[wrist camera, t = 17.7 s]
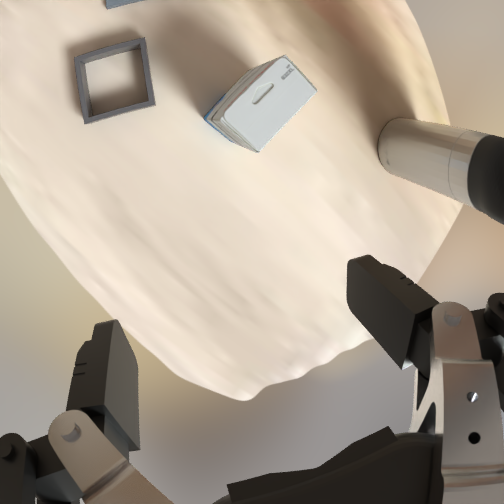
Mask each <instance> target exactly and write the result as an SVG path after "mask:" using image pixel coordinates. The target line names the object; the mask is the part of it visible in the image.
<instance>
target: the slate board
mask: <svg viewBox="0 0 504 504" xmlns="http://www.w3.org/2000/svg"><path fill="white" fill-rule="evenodd" d="M139 1H143V0H106V8H107V9H111V8H114V7H118V6H122V5H126V4H130V3H134V2H139Z"/></svg>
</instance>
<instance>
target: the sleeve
mask: <svg viewBox="0 0 504 504" xmlns="http://www.w3.org/2000/svg"><path fill="white" fill-rule="evenodd" d="M138 48H141V54H142V61H143V67H144V74H145V80H146V86H147V92H148V98H149V101H147V102H143V103H138V104H135V105H131V106H127V107H123V108H120V109H116V110H112V111H109V112H106V113H102V114H99V115H96V116H93V113H92V108H91V102H90V96H89V90H88V83H87V77H86V70H85V63H88V62H91V61H94V60H98V59H101V58H104V57H108V56H111V55H115V54H119V53H122V52H126V51H130V50H134V49H138ZM74 62H75V69H76V77H77V84H78V90H79V96H80V102H81V108H82V113H83V119H84V124H90V123H93V122H96V121H100V120H103V119H106V118H110V117H113V116H117V115H120V114H124V113H128V112H132V111H135V110H139V109H143V108H148V107H152V106H156V103H155V97H154V91H153V85H152V79H151V73H150V66H149V59H148V53H147V46H146V40H145V37H144V38H140V39H135V40H131V41H127V42H123V43H120V44H116V45H112V46H109V47H105V48H102V49H99V50H95V51H92V52H89V53H86V54H83V55H80V56H77V57H74Z"/></svg>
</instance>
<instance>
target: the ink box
mask: <svg viewBox="0 0 504 504" xmlns="http://www.w3.org/2000/svg"><path fill="white" fill-rule="evenodd" d="M316 92H317V89H316V88H315V87H314V85H313V84H312V83H311V82H310V81H309V80H308V79H307V78H306V76H305V75H304V74H303V73H302V72H301V71H300V70H299V69H298V68H297V66H296V65H295V64H294V63H293V62H292V61H291V60H290V59H289V58H288V57H287V56H286V55H283V56H281V57H278V58H276V59H274V60H271V61H269V62H267V63H264V64H262V65H260V66H258V67H255V68H253V69H251V70H248V71H247V72H246V73H245V74H244V75H243V76H242V77H241V78H240V79H239V80H238V81H237V82H236V83H235V84H234V85H233V87H232V88H231V89H230V90H229V91H228V92H227V93H226V94H225V95H224V96H223V97H222V98H221V99H220V100H219V101H218V102H217V103H216V105H215V106H214V107H213V108H212V109H211V110H210V111H209V112H208V113H207V115H206V116H205V117H204V120H205V121H206V122H207V123H209V124H210V125H211V126H212V127H213V128H215V129H216V130H217V131H218V132H220V133H221V134H222V135H223V136H224V137H226V138H227V139H228V140H230V141H231V142H233V143H235V144H238V145H240V146H242V147H244V148H247V149H249V150H251V151H254V152H256V153H259V152H260V151H261V150H262V149H263V148H264V147H265V145H266V144H267V143H268V142H269V141H270V140H271V139H272V138H273V137H274V136H275V135H276V134H277V133H278V132H279V131H280V130H281V129H282V128H283V126H284V125H285V124H286V123H287V122H288V121H289V120H290V119H291V118H292V117H293V116H294V115H295V114H296V113H297V112H298V111H299V110H300V109H301V108H302V107H303V106H304V105H305V104H306V103H307V102H308V101H309V100H310V99H311V98H312V97H313V96H314V95H315V93H316Z"/></svg>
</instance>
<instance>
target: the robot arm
mask: <svg viewBox="0 0 504 504" xmlns="http://www.w3.org/2000/svg"><path fill="white" fill-rule="evenodd" d="M378 153H379V158H380V161H381V163H382V165H383V167H384V168H385V169H386V170H387V171H388V172H389V173H390V174H393V175H395V176H398V177H401V178H403V179H406V180H408V181H411V182H413V183H416V184H418V185H421V186H423V187H426V188H428V189H431V190H433V191H436V192H438V193H440V194H443V195H445V196H447V197H450V198H452V199H454V200H457V201H459V202H461V203H464V204H466V205H468V206H470V207H472V208H475V209H477V210H479V211H481V212H483V213H485V214H487V215H488V216H489V217H491V218H493V219H494V220H496V221H498V222H500V223H502V224H504V138H502V137H498V136H495V135H489V134H486V133H481V132H477V131H472V130H467V129H462V128H458V127H453V126H448V125H442V124H437V123H431V122H425V121H420V120H413V119H406V118H396V119H393V120H391V121H390V122H388V123H387V125H386V126H385V127H384V128H383V130H382V132H381V135H380V137H379V142H378ZM347 303H348V306H349V308H350V310H351V312H352V313H353V314H354V315H355V317H356V318H357V319H358V320H359V321H360V322H361V323H362V325H363V326H364V327H365V328H366V329H367V330H368V331H369V333H370V334H371V335H372V336H373V337H374V338H375V339H376V341H377V342H378V343H379V344H380V345H381V346H382V348H384V350H385V351H386V352H387V353H388V355H389V356H390V357H391V358H392V359H393V360H394V361H395V363H396V364H397V365H398V366H399V367H400V369H401V370H403V369H405V368H407V367H409V366H411V365H413V364H414V365H415V367H416V368H417V369H416V372H415V384H414V402H413V415H412V422H411V426H410V429H409V433H399V434H394V433H393V432H392V430H391V429H390V428H389V426H387V427H385V428H383V429H381V430H379V431H377V432H375V433H373V434H371V435H369V436H367V437H365V438H363V439H361V440H358V441H356V442H354V443H352V444H351V445H349V446H348V447H347V448H345V449H344V450H343V451H341V452H340V453H338V454H337V455H336V456H334V457H333V458H331V459H330V460H328V461H327V462H325V463H324V464H322V465H321V466H319V467H317V468H314V469H307V470H300V471H291V472H282V473H281V472H280V473H269V474H266V475H262V476H259V477H255V478H251V479H247V480H244V481H239V482H235V483H231V484H227V488H228V491H229V494H228V495H226V496H224V497H222V498H221V499H219V500H217V501H216V502H214V503H213V504H504V440H503V428H502V417H501V409H502V410H503V412H504V293H495V294H492V295H491V296H490V297H489V299H488V302H487V305H486V308H484V309H480V310H474V311H469V309H468V308H466V307H465V306H463V305H461V304H459V303H456V302H442V303H439V302H438V301H437V300H435V299H434V298H433V297H432V296H431V295H429V294H428V293H427V292H426V291H424V290H423V289H422V288H421V287H419V286H418V285H417V284H416V283H415V284H414V282H413V281H412V280H411V279H409V278H406V275H404V274H403V273H402V272H400V271H399V270H398V269H396V268H394V267H391V266H388V265H386V264H381V263H380V262H379V261H377V260H376V259H375V258H374V257H372V256H371V255H364V256H361V257H358V258H354V259H351V260H349V261H348V264H347ZM500 408H501V409H500ZM136 450H140V437H139V409H138V365H137V361H136V358H135V355H134V352H133V350H132V349H131V346H130V344H129V342H128V340H127V338H126V336H125V334H124V332H123V329H122V327H121V325H120V323H119V321H118V320H116V319H115V320H110V321H106V322H101V323H97V324H95V326H94V330H93V335H92V340H90V341H85V343H84V344H83V345H82V347H81V348H80V350H79V351H78V353H77V357H76V362H75V367H74V371H73V377H72V381H71V385H70V390H69V396H68V401H67V407H66V412H64V413H62V414H60V415H58V416H57V417H56V418H55V419H54V420H53V422H52V423H51V425H50V427H49V431H48V435H45V436H43V437H40V438H38V439H35V440H32V441H30V442H26V441H25V440H24V439H23V438H22V437H21V436H20V435H18V434H16V433H8V434H5V435H4V436H2V437H1V438H0V504H35V497H36V498H37V504H80V500H79V499H80V498H82V500H83V502H84V503H85V504H174V503H173V502H172V501H170V500H169V499H168V498H167V497H166V496H165V495H163V494H162V493H161V492H160V491H159V490H158V489H157V488H156V487H154V486H153V485H152V484H151V483H150V482H149V481H148V480H147V479H146V478H145V477H144V476H143V475H141V474H140V472H139V471H138V470H137V469H136V468H135V467H133V465H131V463H129V451H136Z"/></svg>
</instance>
